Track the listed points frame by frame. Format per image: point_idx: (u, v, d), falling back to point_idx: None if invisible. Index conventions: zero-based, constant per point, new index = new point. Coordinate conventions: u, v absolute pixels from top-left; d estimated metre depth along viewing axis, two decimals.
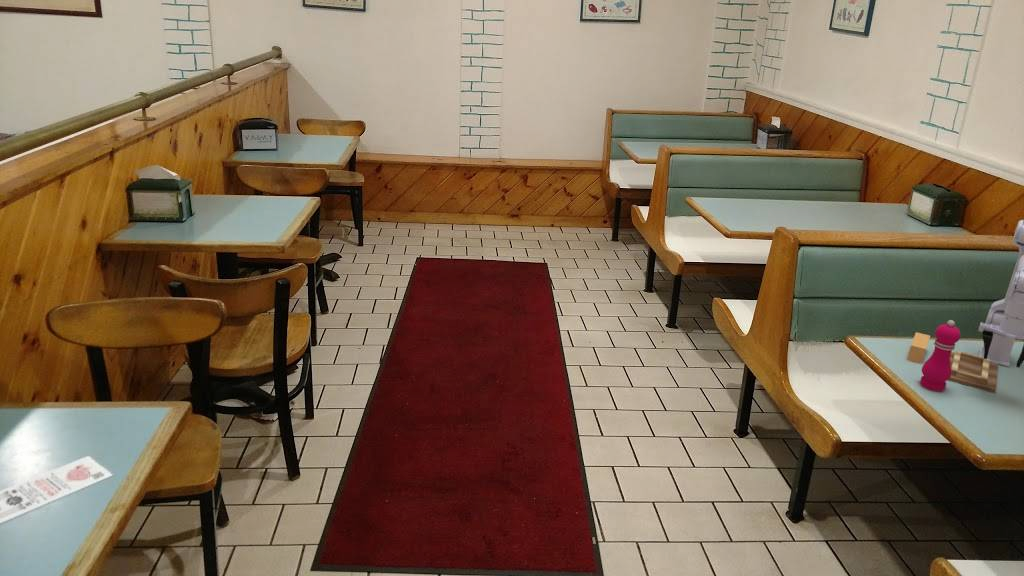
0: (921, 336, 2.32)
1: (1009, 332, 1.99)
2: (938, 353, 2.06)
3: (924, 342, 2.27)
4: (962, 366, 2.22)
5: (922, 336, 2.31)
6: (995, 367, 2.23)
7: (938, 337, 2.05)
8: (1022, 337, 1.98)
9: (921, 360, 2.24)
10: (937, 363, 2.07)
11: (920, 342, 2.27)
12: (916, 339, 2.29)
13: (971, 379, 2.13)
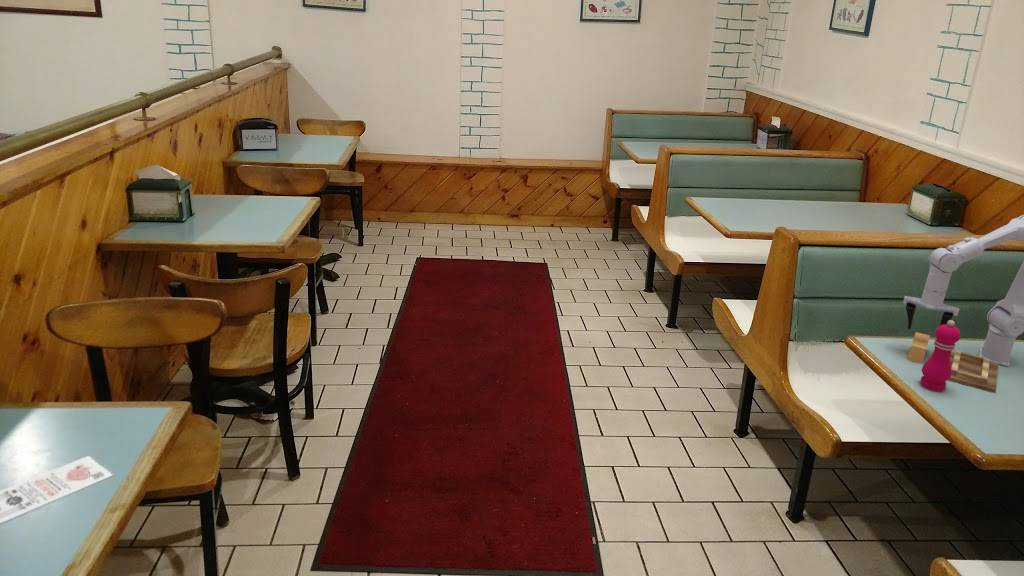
0: (921, 335, 2.32)
1: (928, 304, 2.22)
2: (938, 353, 2.06)
3: (924, 342, 2.27)
4: (962, 366, 2.22)
5: (922, 336, 2.31)
6: (995, 367, 2.23)
7: (938, 337, 2.05)
8: (940, 308, 2.21)
9: (921, 360, 2.24)
10: (937, 363, 2.07)
11: (920, 342, 2.27)
12: (916, 339, 2.29)
13: (971, 379, 2.13)
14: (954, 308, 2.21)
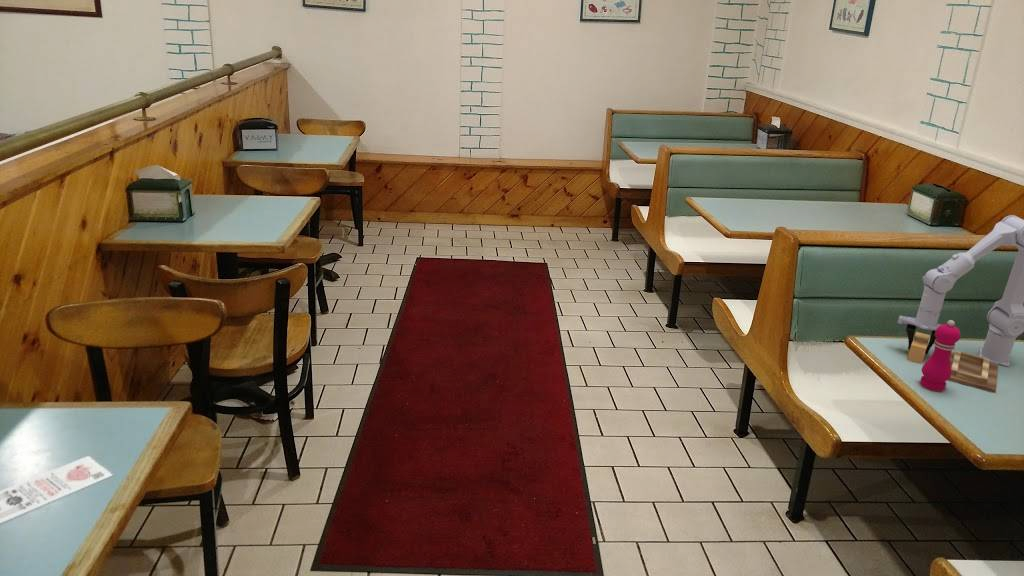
0: (921, 335, 2.31)
1: (923, 324, 2.24)
2: (938, 353, 2.06)
3: (924, 341, 2.27)
4: (962, 366, 2.22)
5: (923, 336, 2.31)
6: (995, 367, 2.23)
7: (938, 337, 2.05)
8: (934, 328, 2.23)
9: (921, 360, 2.24)
10: (937, 363, 2.07)
11: (920, 341, 2.27)
12: (916, 338, 2.29)
13: (971, 379, 2.13)
14: None
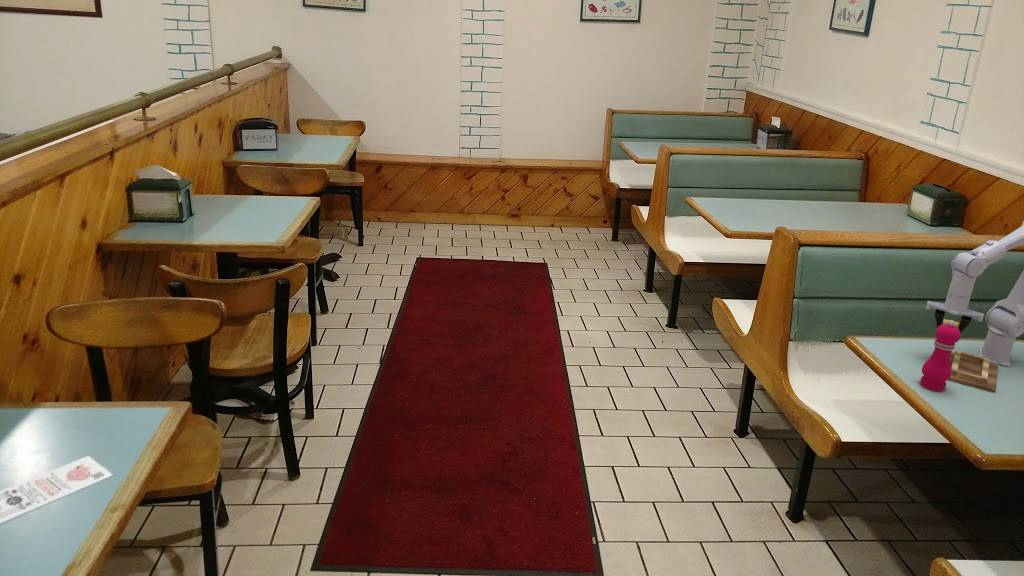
0: None
1: (952, 309, 2.18)
2: (938, 353, 2.06)
3: None
4: (962, 366, 2.22)
5: None
6: (995, 367, 2.23)
7: (938, 337, 2.05)
8: (964, 313, 2.17)
9: None
10: (937, 363, 2.07)
11: None
12: None
13: (971, 379, 2.13)
14: (979, 313, 2.17)
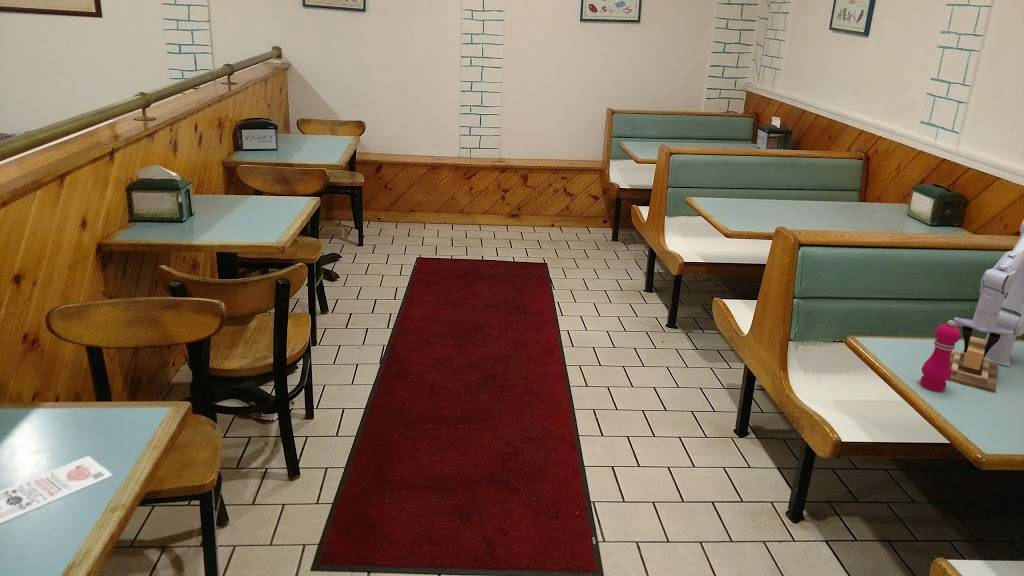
0: (977, 340, 2.21)
1: (981, 326, 2.13)
2: (938, 353, 2.06)
3: (980, 346, 2.17)
4: (962, 366, 2.22)
5: (978, 341, 2.20)
6: (995, 367, 2.23)
7: (938, 337, 2.05)
8: (993, 331, 2.12)
9: (978, 365, 2.14)
10: (937, 363, 2.07)
11: (977, 346, 2.17)
12: (972, 343, 2.18)
13: (971, 379, 2.13)
14: (1007, 331, 2.12)
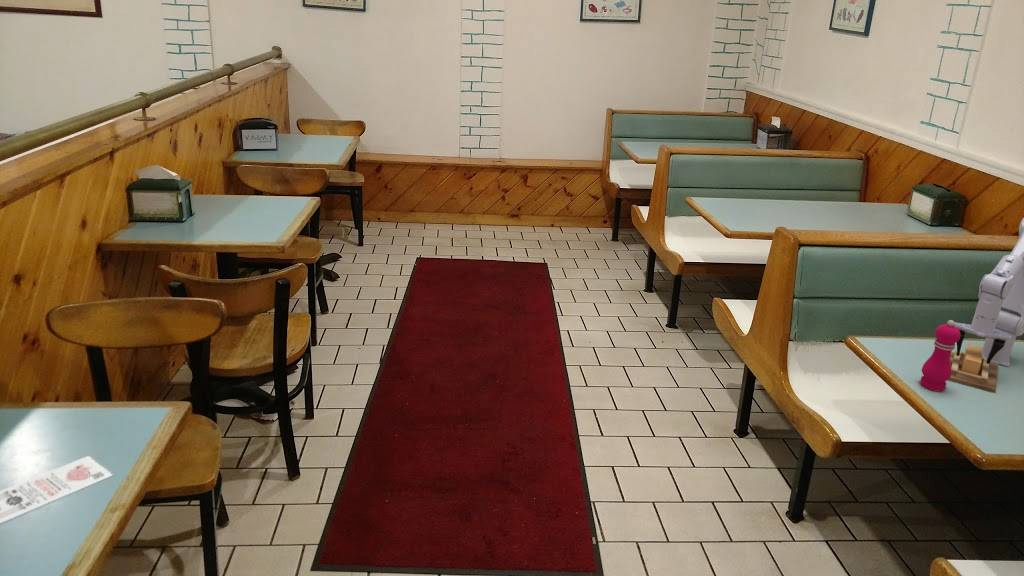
0: (974, 348, 2.22)
1: (979, 331, 2.14)
2: (938, 353, 2.06)
3: (977, 355, 2.18)
4: None
5: (975, 349, 2.21)
6: (995, 367, 2.23)
7: (938, 337, 2.05)
8: (991, 335, 2.13)
9: (976, 374, 2.15)
10: (937, 363, 2.07)
11: (974, 355, 2.18)
12: (969, 352, 2.19)
13: (971, 379, 2.13)
14: (1006, 335, 2.13)
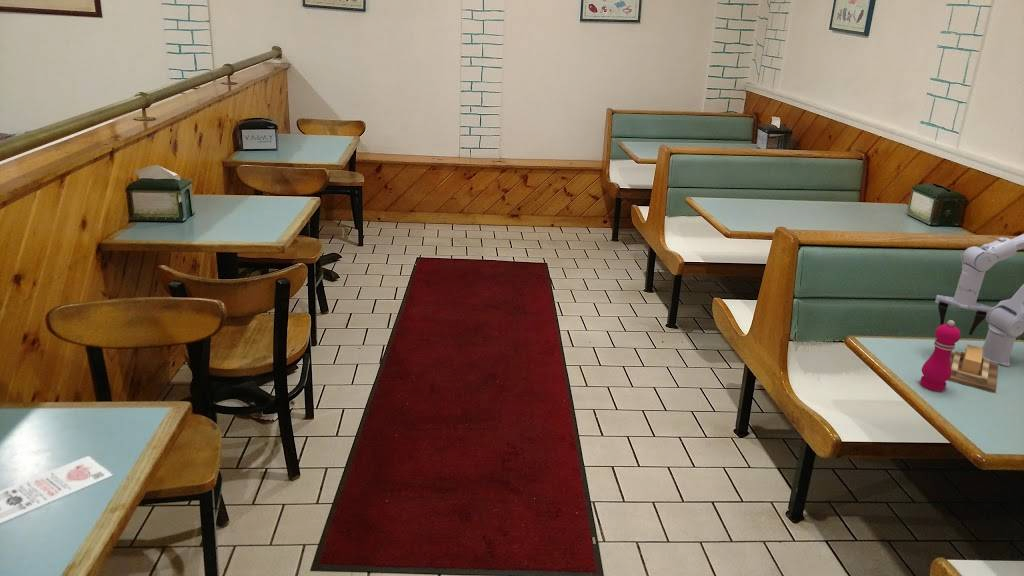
0: (974, 348, 2.22)
1: (961, 303, 2.20)
2: (938, 353, 2.06)
3: (977, 355, 2.18)
4: None
5: (975, 349, 2.21)
6: (995, 367, 2.23)
7: (938, 337, 2.05)
8: (973, 307, 2.19)
9: (976, 374, 2.15)
10: (937, 363, 2.07)
11: (974, 355, 2.18)
12: (969, 352, 2.19)
13: (971, 379, 2.13)
14: (987, 307, 2.19)
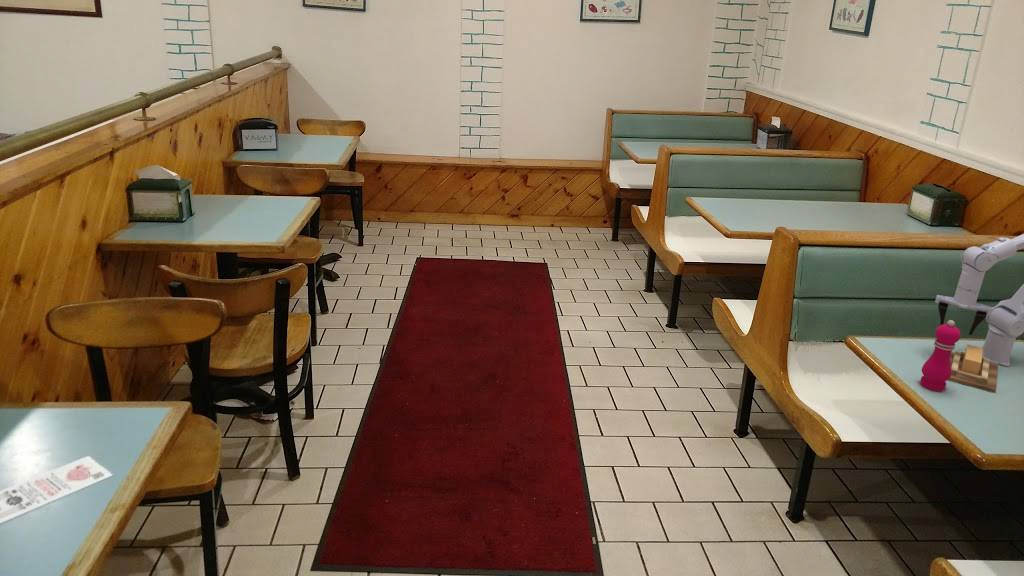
0: (974, 348, 2.22)
1: (961, 303, 2.20)
2: (938, 353, 2.06)
3: (977, 355, 2.18)
4: None
5: (975, 349, 2.21)
6: (995, 367, 2.23)
7: (938, 337, 2.05)
8: (973, 307, 2.19)
9: (976, 374, 2.15)
10: (937, 363, 2.07)
11: (974, 355, 2.18)
12: (969, 352, 2.19)
13: (971, 379, 2.13)
14: (987, 307, 2.19)
